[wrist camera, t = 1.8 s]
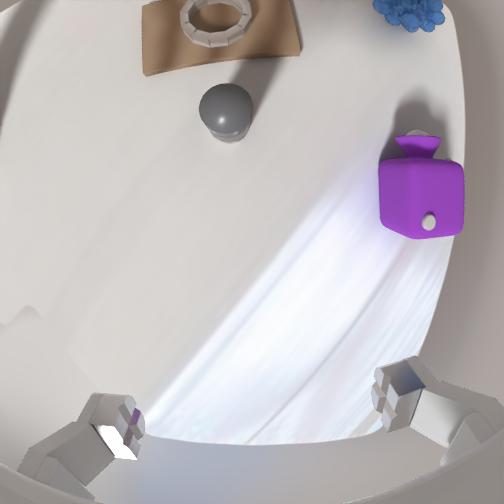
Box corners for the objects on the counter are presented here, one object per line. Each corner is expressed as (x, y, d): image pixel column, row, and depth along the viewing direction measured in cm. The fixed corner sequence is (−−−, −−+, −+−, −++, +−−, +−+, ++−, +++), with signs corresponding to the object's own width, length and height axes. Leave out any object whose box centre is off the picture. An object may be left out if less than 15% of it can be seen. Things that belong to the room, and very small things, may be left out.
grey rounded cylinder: (212, 146, 33) (202, 136, 24) (208, 109, 32) (196, 87, 22) (251, 140, 33) (255, 129, 24) (246, 104, 32) (249, 80, 22)
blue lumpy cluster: (356, 29, 29) (392, -9, 17) (356, -2, 27) (388, -41, 16) (422, 56, 30) (468, 34, 18) (420, 25, 28) (461, 0, 17)
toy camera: (419, 129, 33) (462, 123, 24) (435, 217, 37) (478, 231, 27) (358, 140, 34) (395, 132, 24) (379, 236, 38) (417, 257, 28)
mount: (146, 76, 30) (136, 67, 26) (145, 10, 27) (136, -3, 23) (298, 56, 30) (305, 44, 26) (284, -9, 27) (288, -23, 23)
